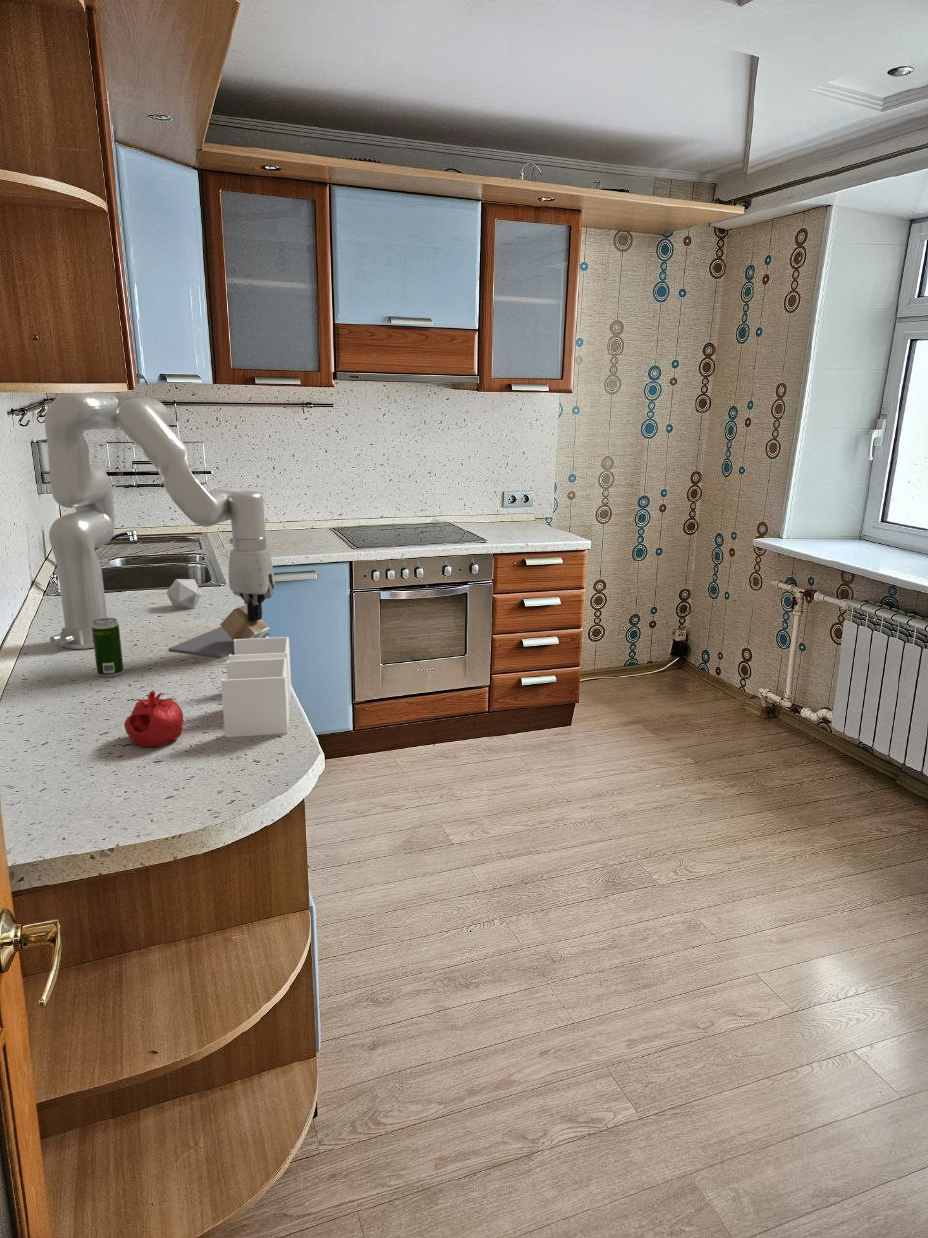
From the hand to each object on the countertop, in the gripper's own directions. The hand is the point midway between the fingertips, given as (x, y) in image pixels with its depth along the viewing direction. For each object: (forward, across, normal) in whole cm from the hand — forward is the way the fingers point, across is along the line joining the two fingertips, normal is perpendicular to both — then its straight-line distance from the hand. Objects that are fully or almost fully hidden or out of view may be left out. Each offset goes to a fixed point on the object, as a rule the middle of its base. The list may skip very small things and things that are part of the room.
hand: (255, 619), depth 193 cm
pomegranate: (+7, +14, -52) cm, 55 cm away
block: (+5, 0, 0) cm, 5 cm away
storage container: (+8, +24, -33) cm, 41 cm away
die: (+7, -41, +24) cm, 48 cm away
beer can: (+7, -18, -28) cm, 34 cm away
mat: (+7, -10, 0) cm, 13 cm away
